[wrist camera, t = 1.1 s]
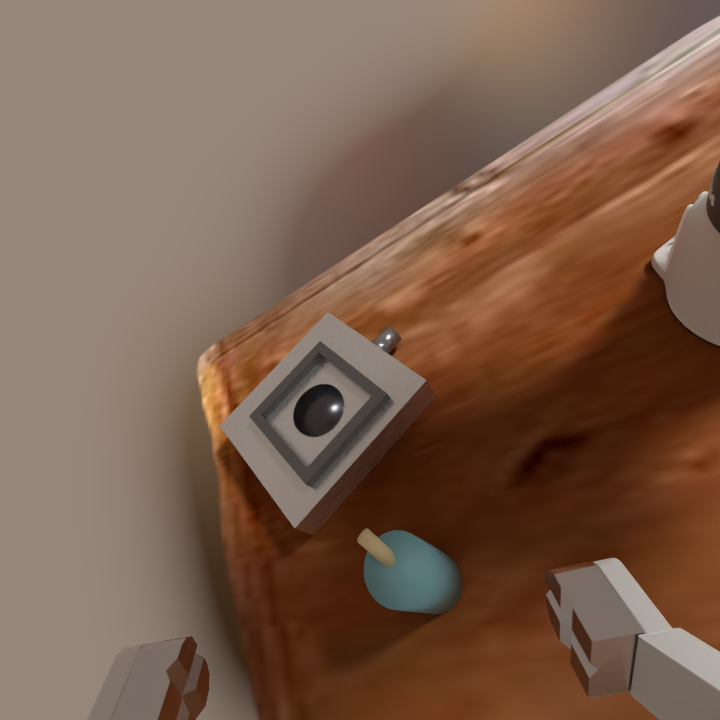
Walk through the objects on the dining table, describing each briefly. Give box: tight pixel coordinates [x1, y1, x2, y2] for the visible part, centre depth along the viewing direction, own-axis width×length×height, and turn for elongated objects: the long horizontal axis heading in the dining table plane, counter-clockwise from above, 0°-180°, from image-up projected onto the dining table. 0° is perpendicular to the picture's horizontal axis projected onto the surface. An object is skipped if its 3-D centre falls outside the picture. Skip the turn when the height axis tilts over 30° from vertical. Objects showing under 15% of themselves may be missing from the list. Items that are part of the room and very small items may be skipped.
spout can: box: [357, 528, 462, 614], centre depth 34 cm, size 5×6×12 cm
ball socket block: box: [220, 312, 436, 535], centre depth 50 cm, size 23×18×5 cm
